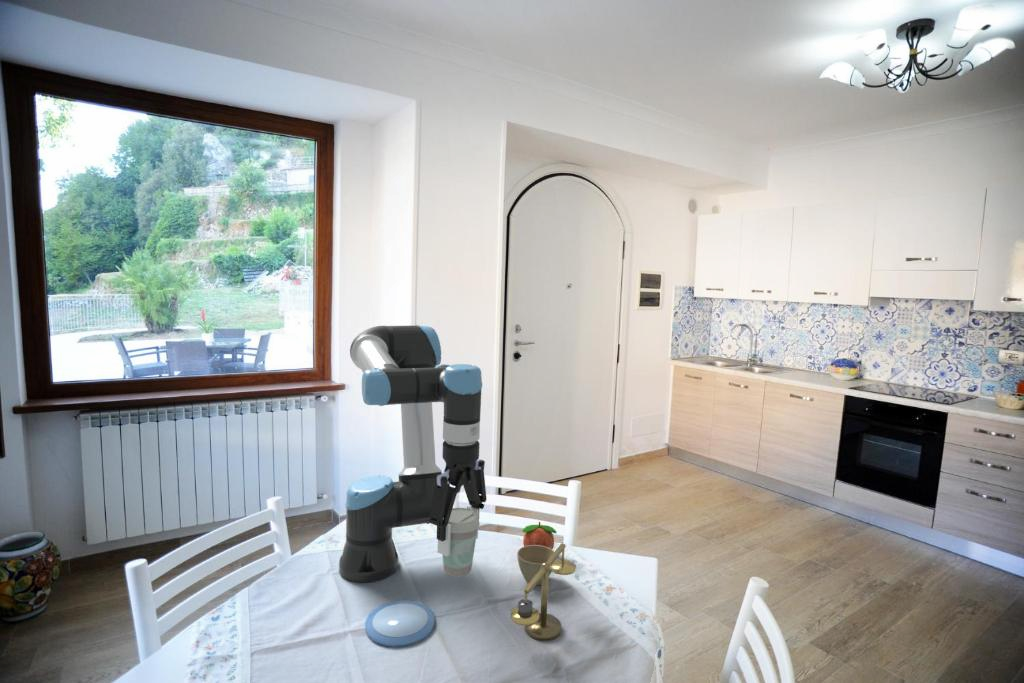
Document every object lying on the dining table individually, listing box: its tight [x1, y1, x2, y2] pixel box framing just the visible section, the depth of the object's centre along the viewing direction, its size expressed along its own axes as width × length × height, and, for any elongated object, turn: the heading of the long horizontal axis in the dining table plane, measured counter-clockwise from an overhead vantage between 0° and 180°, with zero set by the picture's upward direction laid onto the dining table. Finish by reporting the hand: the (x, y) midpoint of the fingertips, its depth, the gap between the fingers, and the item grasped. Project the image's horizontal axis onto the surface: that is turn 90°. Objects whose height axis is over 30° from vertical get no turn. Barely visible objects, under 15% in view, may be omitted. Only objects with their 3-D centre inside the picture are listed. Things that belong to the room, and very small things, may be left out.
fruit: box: [521, 521, 557, 551], centre depth 155 cm, size 9×10×10 cm
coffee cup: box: [441, 507, 480, 577], centre depth 117 cm, size 8×9×12 cm
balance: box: [510, 542, 577, 642], centre depth 123 cm, size 8×21×17 cm, turn 145°
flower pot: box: [516, 545, 555, 586], centre depth 143 cm, size 10×10×7 cm
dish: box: [364, 600, 435, 648], centre depth 123 cm, size 15×15×1 cm
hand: (458, 544), depth 117 cm, fingers closed on coffee cup, 8 cm apart
